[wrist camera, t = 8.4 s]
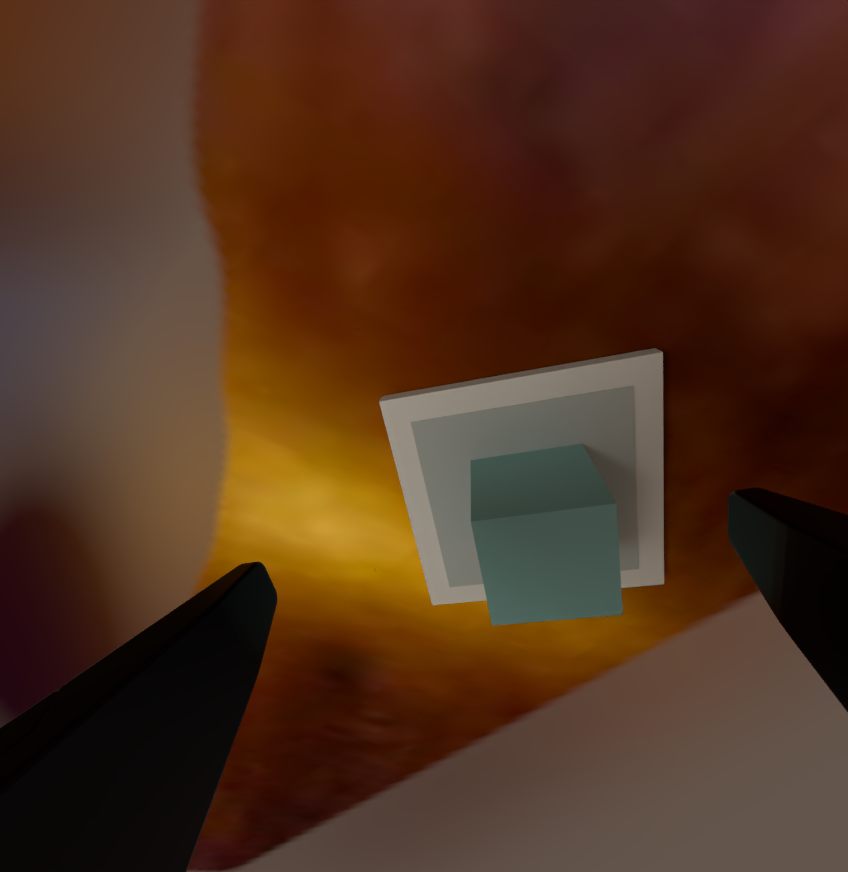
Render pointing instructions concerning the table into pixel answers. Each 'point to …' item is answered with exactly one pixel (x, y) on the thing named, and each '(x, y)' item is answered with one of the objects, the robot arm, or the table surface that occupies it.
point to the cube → (545, 536)
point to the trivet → (528, 431)
